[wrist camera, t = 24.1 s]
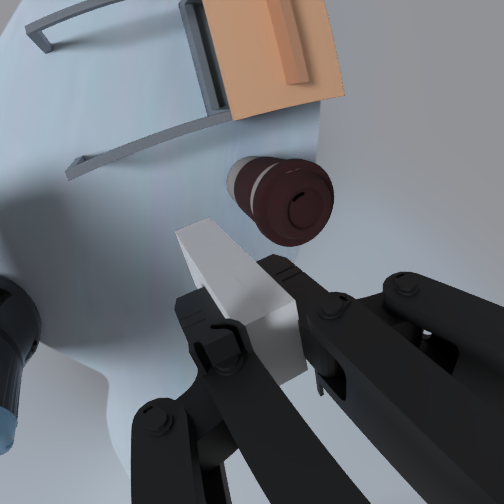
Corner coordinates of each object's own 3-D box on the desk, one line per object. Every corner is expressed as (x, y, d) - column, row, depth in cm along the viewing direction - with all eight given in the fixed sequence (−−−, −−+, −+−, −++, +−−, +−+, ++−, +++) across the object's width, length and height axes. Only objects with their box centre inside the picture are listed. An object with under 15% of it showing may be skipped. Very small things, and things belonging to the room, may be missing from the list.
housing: (78, 165, 35) (68, 181, 26) (43, 47, 27) (24, 26, 18) (296, 95, 44) (342, 94, 35) (272, -7, 35) (312, -29, 26)
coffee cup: (274, 213, 50) (334, 249, 38) (213, 214, 46) (259, 255, 33) (283, 149, 46) (349, 167, 34) (219, 144, 42) (271, 159, 30)
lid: (232, 120, 31) (246, 120, 28) (195, -27, 22) (205, -40, 19) (339, 95, 34) (358, 96, 32) (309, -30, 26) (327, -39, 23)
